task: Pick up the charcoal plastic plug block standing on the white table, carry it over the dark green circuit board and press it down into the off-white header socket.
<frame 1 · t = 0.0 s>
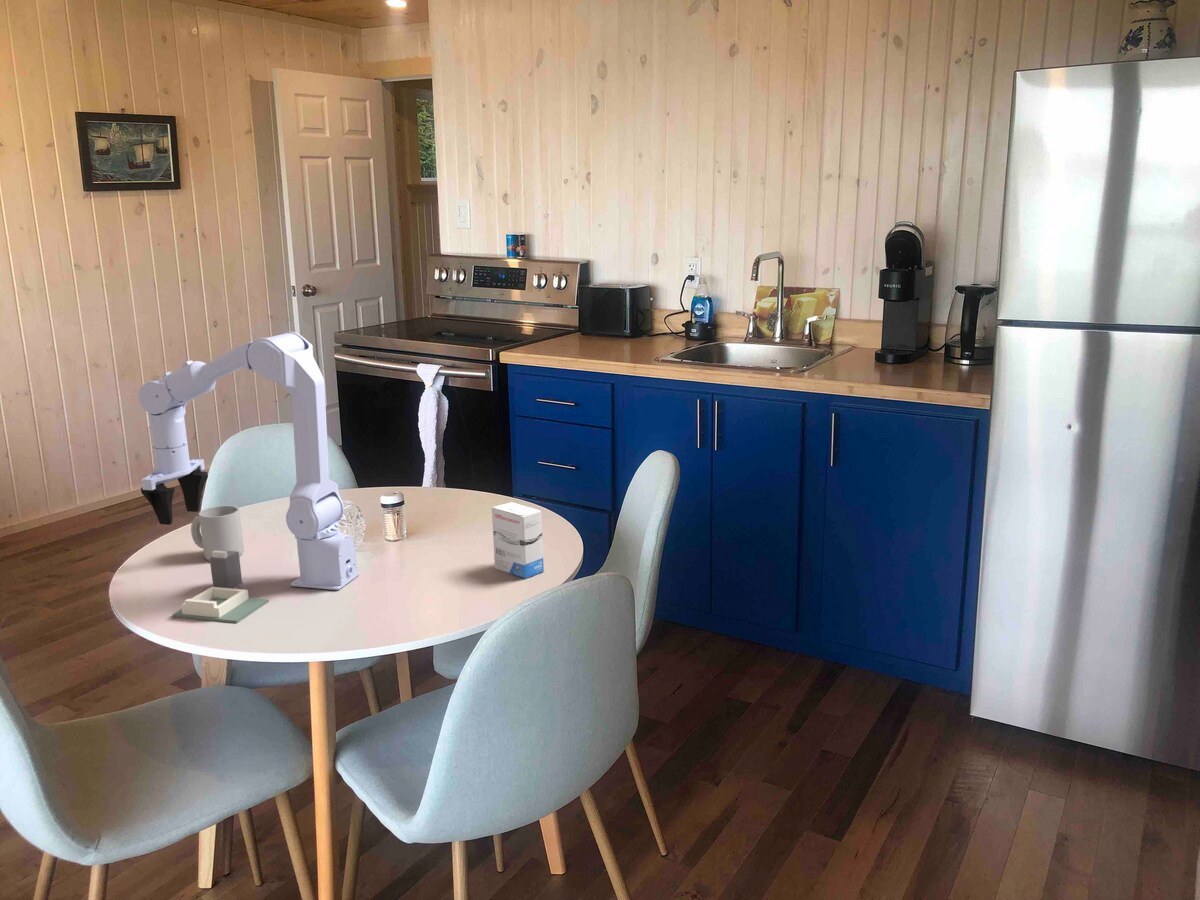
hand: (179, 517, 177), 10 cm above the table, fingers open, 7 cm apart
ink box: (519, 571, 176), on the table
plug: (228, 586, 171), on the table
cup: (218, 556, 187), on the table
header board: (221, 608, 161), on the table
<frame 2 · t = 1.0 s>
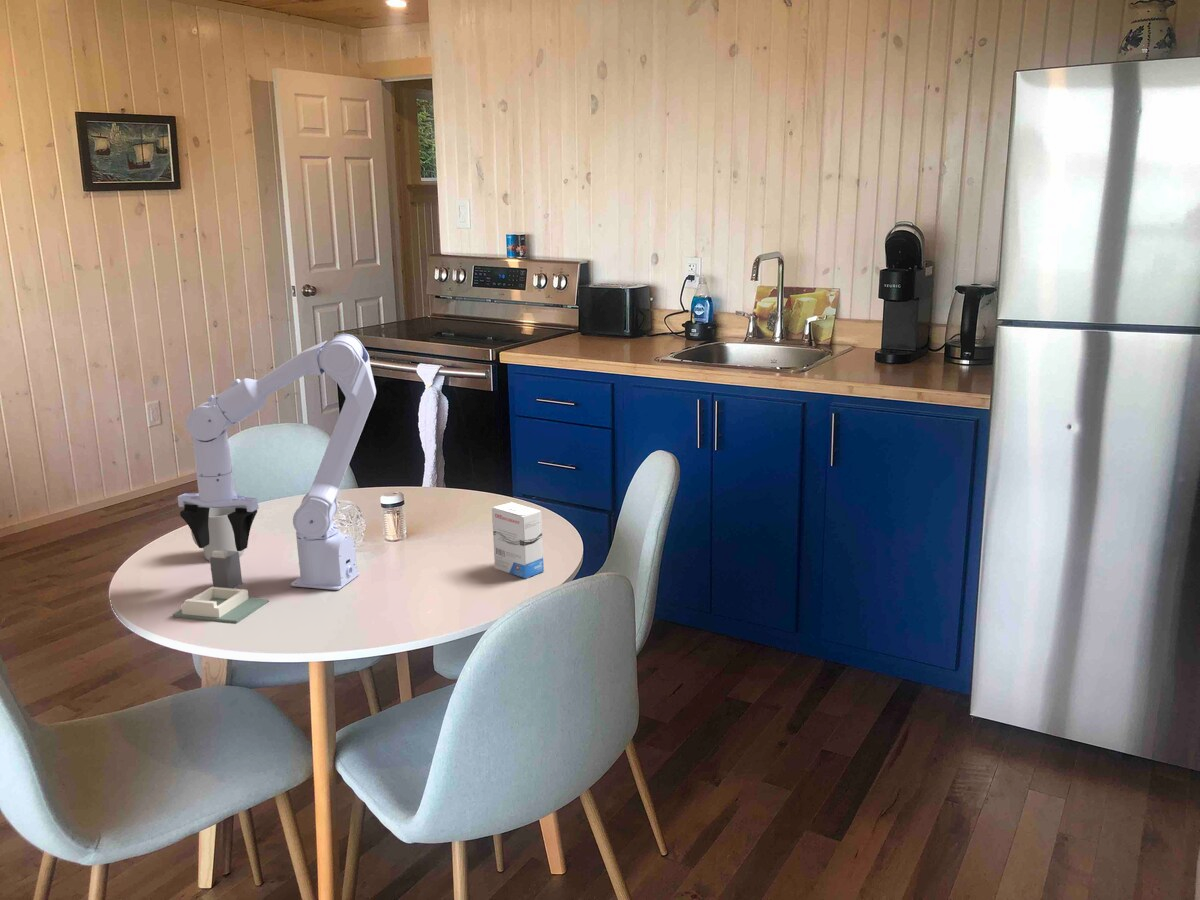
hand: (223, 547, 169), 7 cm above the table, fingers open, 7 cm apart
nothing on the table moved.
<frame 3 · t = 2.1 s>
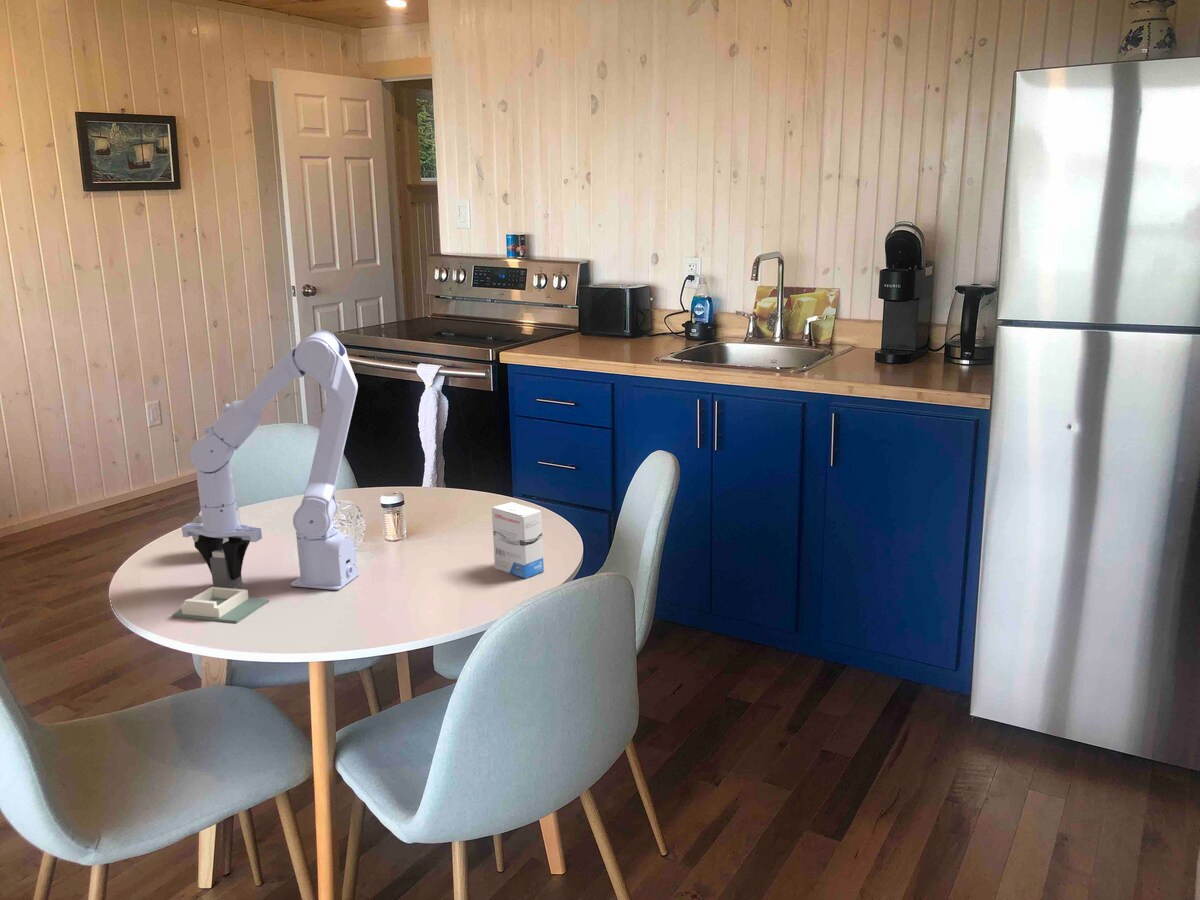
hand: (227, 577, 171), 2 cm above the table, fingers closed on plug, 3 cm apart
plug: (228, 586, 171), on the table, touching gripper
everything else where it was.
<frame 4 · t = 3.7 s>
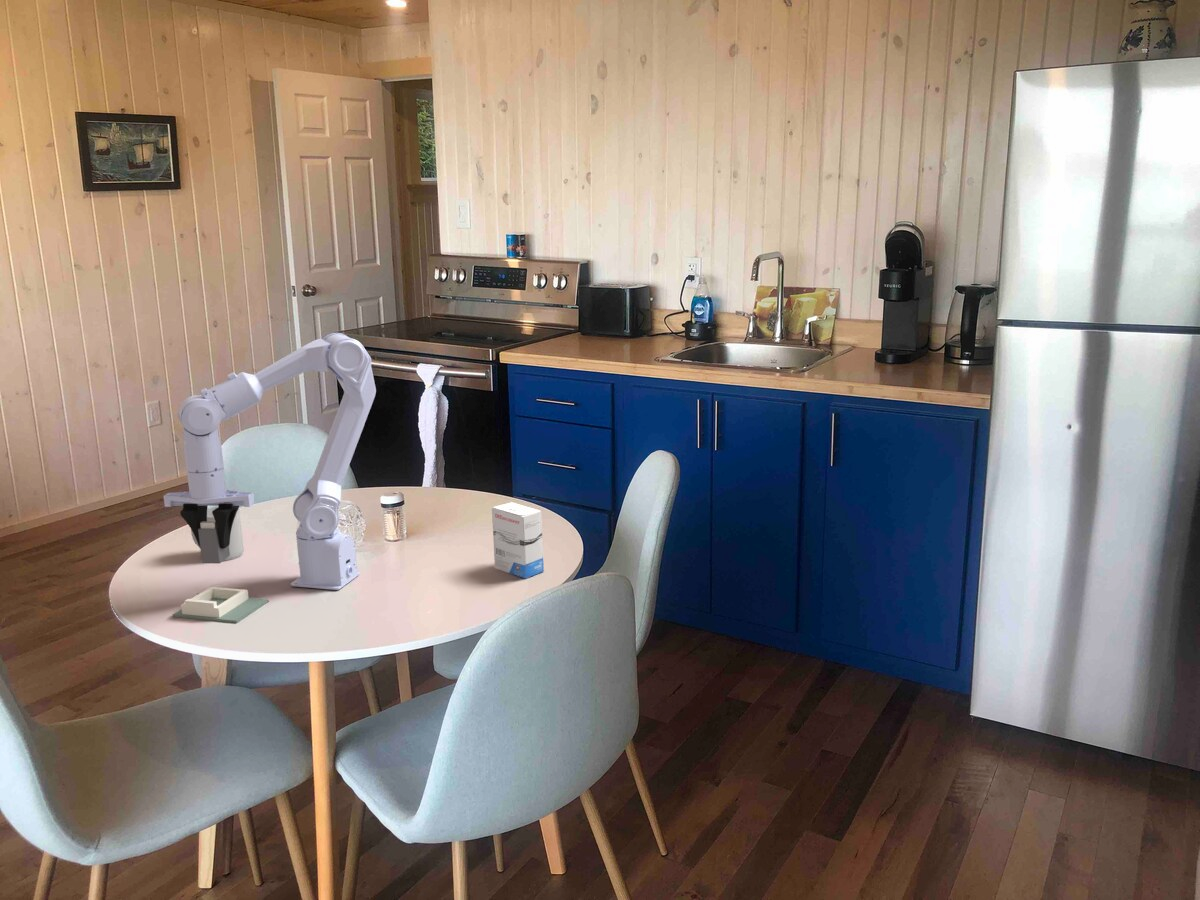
hand: (214, 546, 163), 9 cm above the table, fingers closed on plug, 3 cm apart
plug: (216, 559, 164), point 7 cm above the table, touching gripper
everything else where it was.
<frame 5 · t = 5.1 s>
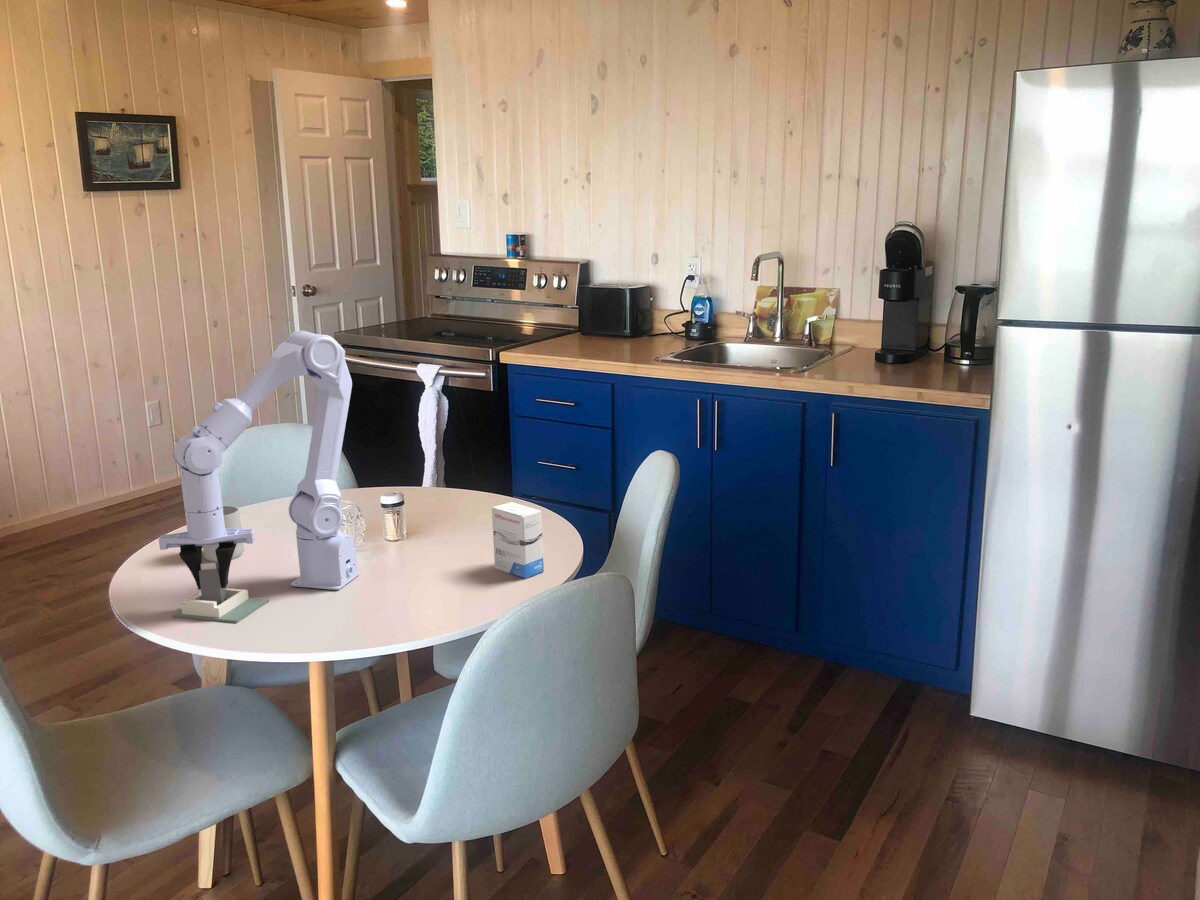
hand: (213, 586, 161), 4 cm above the table, fingers closed on plug, 3 cm apart
plug: (215, 600, 161), point 1 cm above the table, touching gripper
everything else where it was.
when the fingers open (3 cm above the table, at t = 5.6 s): plug stays where it is, resting on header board.
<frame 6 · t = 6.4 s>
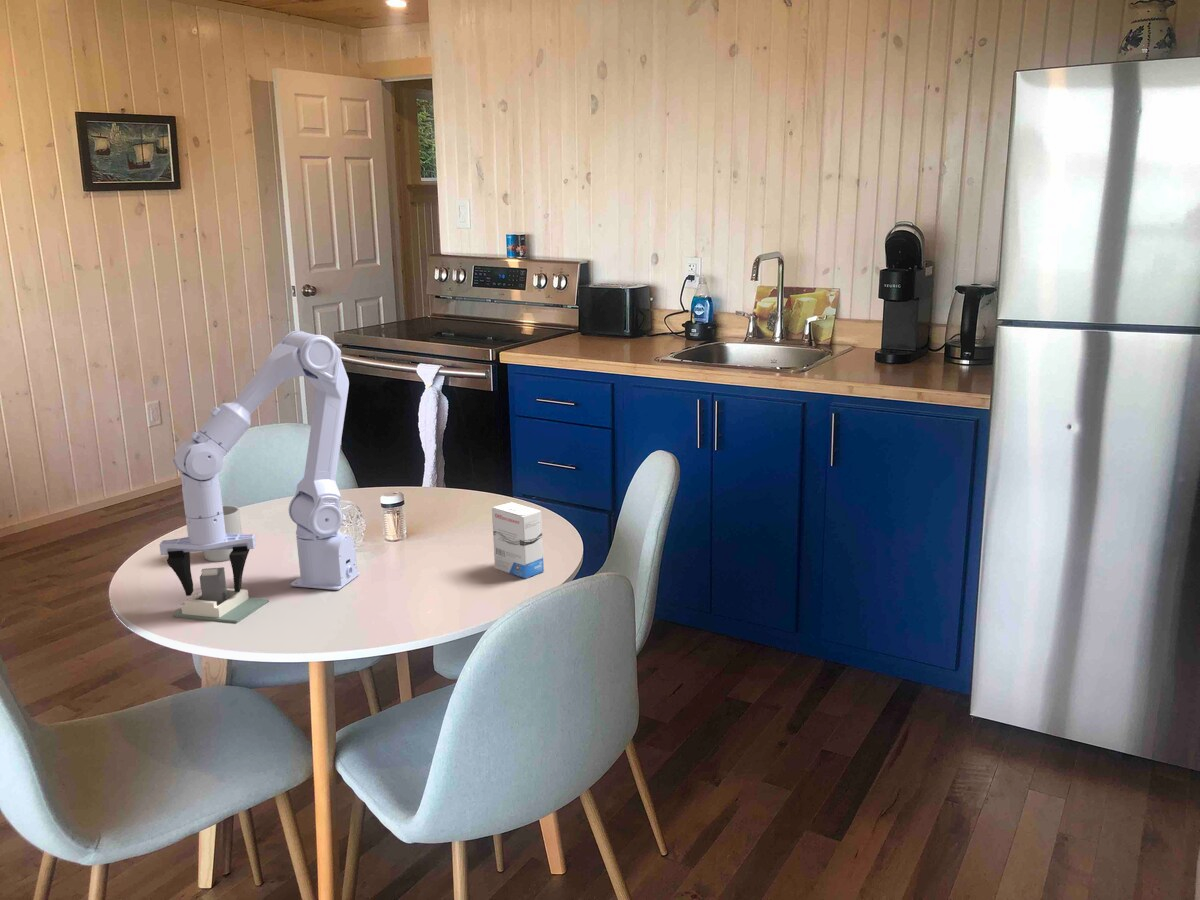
hand: (214, 591, 161), 3 cm above the table, fingers open, 7 cm apart
plug: (216, 606, 162), resting on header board
everything else where it was.
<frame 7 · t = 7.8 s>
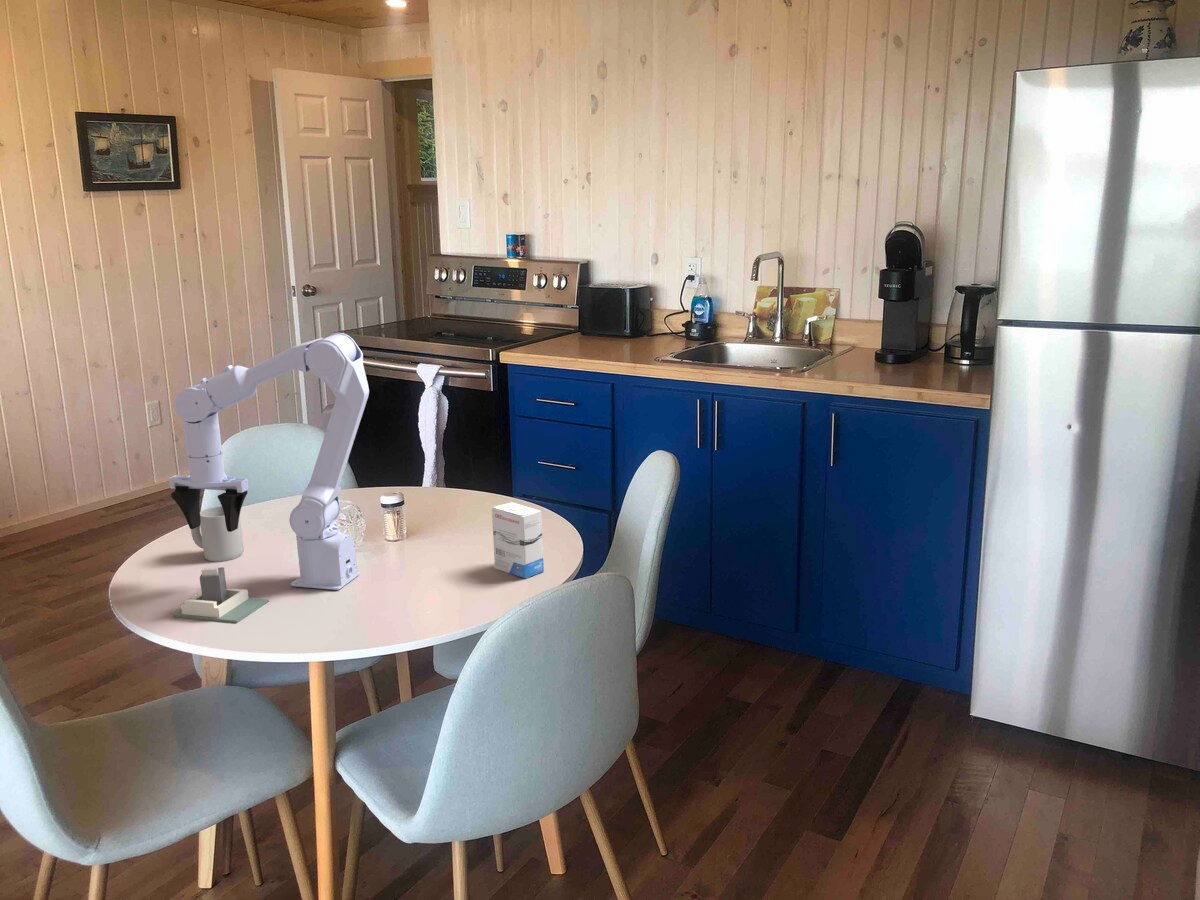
hand: (213, 528, 171), 10 cm above the table, fingers open, 7 cm apart
nothing on the table moved.
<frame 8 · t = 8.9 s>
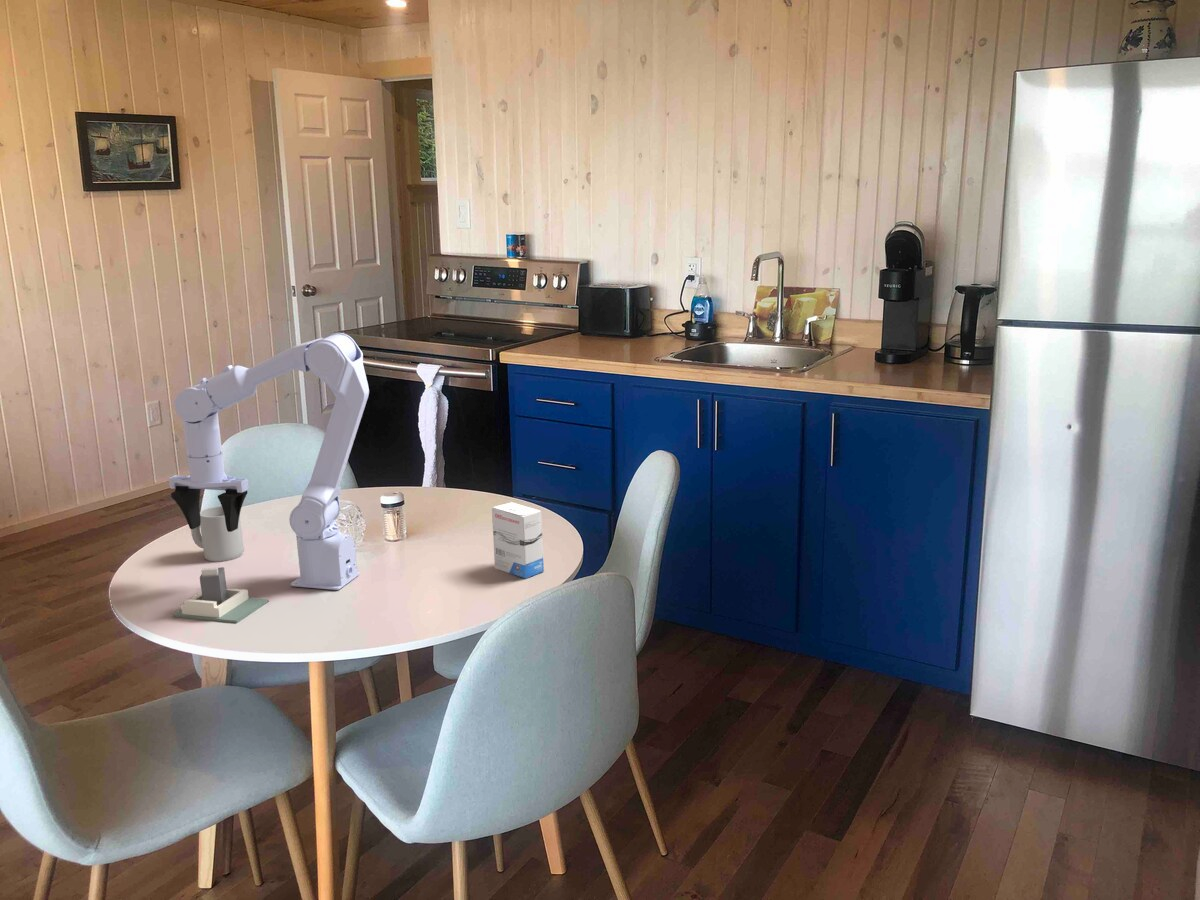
hand: (213, 528, 171), 10 cm above the table, fingers open, 7 cm apart
nothing on the table moved.
at the end: plug 0.1 cm off-centre on the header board, point 0.4 cm above the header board's base; plug tilted 0°; the gripper is holding nothing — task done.
